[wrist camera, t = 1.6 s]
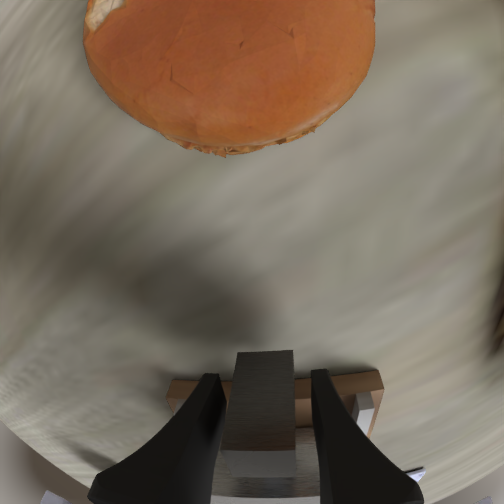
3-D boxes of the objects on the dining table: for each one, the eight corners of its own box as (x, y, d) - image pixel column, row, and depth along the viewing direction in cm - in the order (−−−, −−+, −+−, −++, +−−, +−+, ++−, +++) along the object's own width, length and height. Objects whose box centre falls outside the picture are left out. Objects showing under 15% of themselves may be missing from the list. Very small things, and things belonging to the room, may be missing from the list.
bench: (349, 473, 21) (354, 522, 16) (221, 477, 22) (213, 524, 17) (378, 370, 15) (401, 449, 10) (172, 379, 16) (144, 454, 11)
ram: (340, 447, 16) (346, 512, 11) (218, 450, 16) (206, 513, 12) (356, 343, 12) (382, 439, 7) (177, 352, 13) (142, 440, 8)
